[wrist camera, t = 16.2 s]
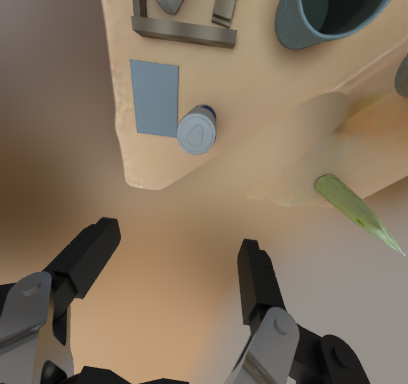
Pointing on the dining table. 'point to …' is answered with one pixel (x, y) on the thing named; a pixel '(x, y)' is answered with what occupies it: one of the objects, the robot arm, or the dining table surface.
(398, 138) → the dining table surface
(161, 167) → the dining table surface
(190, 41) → the wooden tray
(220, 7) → the block
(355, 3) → the teal cup
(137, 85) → the mat
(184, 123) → the beverage can
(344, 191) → the tube
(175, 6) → the rounded white slotted gadget
